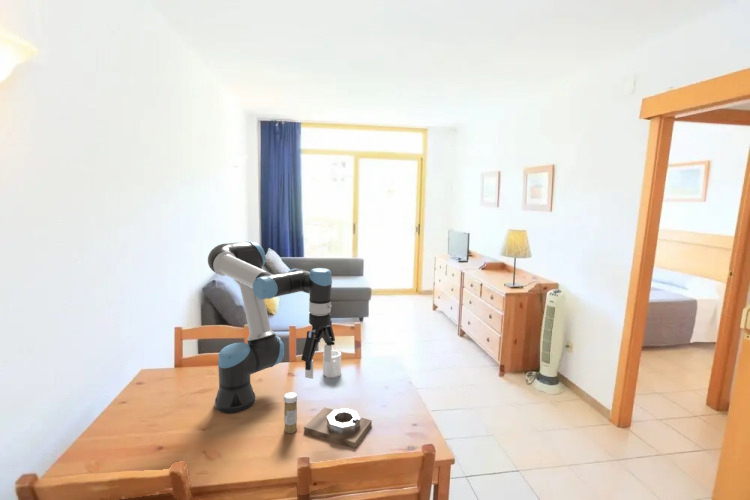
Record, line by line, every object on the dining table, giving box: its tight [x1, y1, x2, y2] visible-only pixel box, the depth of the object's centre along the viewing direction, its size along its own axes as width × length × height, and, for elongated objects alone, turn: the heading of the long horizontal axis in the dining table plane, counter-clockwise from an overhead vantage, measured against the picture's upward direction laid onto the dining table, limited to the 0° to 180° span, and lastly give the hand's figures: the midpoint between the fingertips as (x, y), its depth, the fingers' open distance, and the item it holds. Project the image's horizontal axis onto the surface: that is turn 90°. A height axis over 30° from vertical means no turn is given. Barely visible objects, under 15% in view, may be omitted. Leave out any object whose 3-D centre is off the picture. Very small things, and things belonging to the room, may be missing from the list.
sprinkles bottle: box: [283, 391, 298, 434], centre depth 136 cm, size 5×5×14 cm
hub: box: [327, 407, 361, 435], centre depth 137 cm, size 11×11×4 cm
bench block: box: [303, 407, 373, 449], centre depth 139 cm, size 20×14×2 cm
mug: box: [322, 349, 342, 379], centre depth 178 cm, size 12×9×10 cm
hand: (318, 369), depth 138 cm, fingers open, 13 cm apart
